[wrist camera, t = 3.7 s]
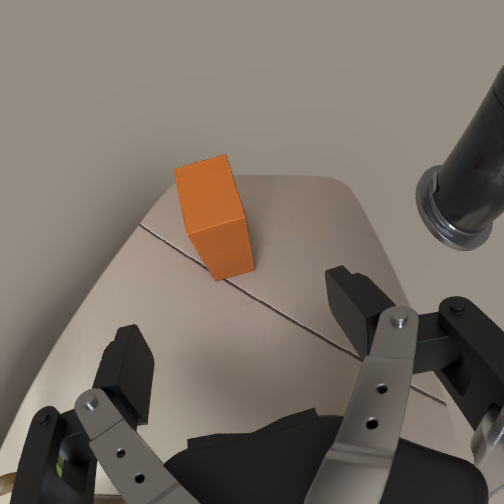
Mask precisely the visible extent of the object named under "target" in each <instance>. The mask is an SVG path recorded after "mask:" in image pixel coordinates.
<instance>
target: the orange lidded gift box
mask: <svg viewBox="0 0 504 504" xmlns="http://www.w3.org/2000/svg"><path fill="white" fill-rule="evenodd" d="M175 177H176V182H177V188H178V193H179V198H180V203H181V209H182V214H183V218H184V223H185V228H186V233H187V235H188V237H189V239H190V240H191V242H192V244H193V245H194V247H195V249H196V250H197V252H198V254H199V255H200V257H201V259H202V260H203V262H204V264H205V265H206V267H207V269H208V270H209V272H210V273H211V275H212V277H213V278H214V280H215V281H218V280H222V279H225V278H229V277H232V276H236V275H239V274H243V273H246V272H250V271H253V270H255V267H254V261H253V255H252V249H251V244H250V238H249V232H248V226H247V220H246V216H245V212H244V209H243V206H242V203H241V200H240V196H239V193H238V190H237V187H236V184H235V181H234V177H233V174H232V171H231V168H230V165H229V161H228V158H227V156H226V155H221V156H217V157H214V158H210V159H207V160H203V161H200V162H196V163H193V164H190V165H187V166H183V167H180V168H177V169H175Z"/></svg>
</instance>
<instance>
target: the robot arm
mask: <svg viewBox="0 0 504 504" xmlns="http://www.w3.org/2000/svg"><path fill="white" fill-rule="evenodd" d="M428 199H429V203H430V206H431V208H432V211H433V213H434V214H435V216H436V217H437V219H438V220H439V221H440V223H441V224H442V225H443V226H444V227H445V228H446V229H448V230H449V231H450V232H452V233H453V234H455V235H458V236H460V237H464V238H471V237H475V236H477V235H479V234H480V233H481V232H482V231H483V230H485V228H486V227H487V226H488V225H489V224H490V223H492V222H493V221H494V220H495V219H496V218H498V217H499V216H500V215H501V214H502V213H503V212H504V65H503V66H502V68H501V69H500V71H499V72H498V74H497V76H496V78H495V80H494V82H493V84H492V86H491V88H490V90H489V91H488V93H487V95H486V97H485V98H484V100H483V102H482V103H481V106H480V107H479V109H478V110H477V112H476V114H475V115H474V117H473V119H472V120H471V122H470V124H469V125H468V127H467V128H466V130H465V132H464V133H463V135H462V136H461V138H460V140H459V141H458V143H457V144H456V146H455V147H454V149H453V150H452V152H451V153H450V155H449V156H448V158H447V159H446V161H445V162H444V163H443V165H442V166H441V168H440V169H439V171H438V172H437V173H436V171H435V173H434V174H433V178H432V179H431V181H430V183H429V186H428ZM325 280H326V287H327V294H328V301H329V306H330V309H331V312H332V314H333V316H334V318H335V319H336V321H337V322H338V324H339V325H340V327H341V328H342V330H343V331H344V333H345V334H346V336H347V337H348V339H349V341H350V342H351V344H352V345H353V347H354V348H355V350H356V351H357V353H358V354H359V356H360V357H361V359H362V361H363V363H362V366H361V370H360V373H359V376H358V379H357V382H356V385H355V388H354V391H353V393H352V396H351V399H350V402H349V405H348V407H347V410H346V413H345V415H344V416H337V415H322V416H318V415H317V412H316V410H315V408H312V409H309V410H305V411H302V412H299V413H296V414H293V415H289V416H286V417H283V418H281V419H279V420H277V421H275V422H273V423H271V424H269V425H267V426H265V427H263V428H261V429H259V430H257V431H255V432H252V433H237V434H213V435H208V436H202V437H197V438H191V439H187V442H188V448H187V449H185V450H183V451H181V452H179V453H177V454H176V455H174V456H173V457H171V458H170V459H169V460H168V461H166V462H165V463H164V462H163V461H162V460H161V459H160V458H159V457H158V456H157V455H156V454H155V452H154V451H153V450H152V449H151V448H150V447H149V446H148V444H147V443H146V442H145V441H144V440H143V439H142V437H141V436H140V435H139V434H138V433H137V432H136V430H137V426H140V425H147V424H148V415H149V405H150V396H151V388H152V380H153V372H154V358H153V355H152V352H151V350H150V348H149V347H148V345H147V343H146V341H145V339H144V337H143V335H142V334H141V332H140V330H139V328H138V326H137V325H135V324H133V325H129V326H125V327H121V328H118V330H117V333H116V336H115V339H114V341H112V342H110V344H109V345H108V346H107V347H106V349H105V350H104V353H103V356H102V360H101V362H100V365H99V368H98V371H97V374H96V377H95V380H94V383H93V386H92V389H89V390H87V391H85V392H84V393H82V394H81V395H80V396H79V397H78V399H77V400H76V402H75V407H74V408H75V409H72V410H70V411H67V412H65V413H62V414H60V413H59V412H58V411H57V409H56V408H54V407H52V406H47V407H44V408H42V409H40V410H39V411H38V412H37V413H36V414H35V415H34V417H33V419H32V422H31V425H30V428H29V431H28V434H27V437H26V440H25V444H24V447H23V451H22V454H21V458H20V461H19V465H18V469H17V473H16V477H15V481H14V486H13V490H12V495H11V500H10V504H94V490H95V478H96V468H97V460H98V461H99V463H100V465H101V466H102V468H103V469H104V471H105V473H106V474H107V476H108V477H109V479H110V480H111V482H112V483H113V485H114V486H115V488H116V489H117V491H118V492H119V494H120V495H121V496H122V498H123V499H124V501H125V502H126V503H127V504H488V500H489V498H490V497H492V496H493V495H495V494H496V493H498V492H499V491H500V490H502V489H503V488H504V332H503V331H502V330H501V329H500V328H499V327H498V326H497V325H496V324H495V323H494V322H493V321H492V320H491V319H490V318H488V316H487V315H485V314H484V313H483V312H482V311H481V310H480V309H479V308H478V307H477V306H476V305H475V304H473V303H472V302H471V301H470V300H468V299H466V298H463V297H459V296H455V297H449V298H446V299H444V300H443V301H442V302H441V303H440V305H439V312H434V313H429V314H422V315H418V314H417V313H416V312H415V311H414V310H413V309H411V308H409V307H406V306H396V305H395V304H394V303H393V302H392V301H391V300H390V299H389V298H388V296H387V295H386V294H385V293H384V292H383V291H382V290H380V289H379V287H377V286H376V285H374V283H373V282H372V281H371V280H370V279H369V278H368V277H367V276H365V275H362V274H360V273H355V274H351V273H350V272H349V271H348V270H347V269H346V268H345V267H344V266H343V265H341V266H338V267H335V268H332V269H329V270H326V271H325ZM428 371H434V373H435V374H436V376H437V377H438V378H439V380H440V381H441V383H442V384H443V385H444V387H445V388H446V390H447V391H448V393H449V394H450V395H451V397H452V398H453V400H454V401H455V403H456V404H457V406H458V407H459V409H460V410H461V412H462V413H463V415H464V416H465V418H466V419H467V421H468V422H469V424H470V425H471V427H472V428H473V430H474V432H475V433H474V435H473V437H472V439H471V450H472V453H473V456H474V465H473V464H472V463H470V462H468V461H466V460H464V459H461V458H458V457H455V456H451V455H448V454H445V453H442V452H439V451H436V450H433V449H430V448H427V447H424V446H421V445H419V444H416V443H413V442H410V441H408V440H405V439H402V438H400V432H401V428H402V424H403V419H404V415H405V410H406V405H407V400H408V395H409V389H410V384H411V378H412V374H417V373H422V372H428ZM59 455H60V456H61V457H63V458H64V463H63V469H62V474H61V478H60V476H59V475H58V473H57V462H58V457H59Z"/></svg>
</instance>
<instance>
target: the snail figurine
mask: <svg viewBox="0 0 504 504" xmlns="http://www.w3.org/2000/svg"><path fill="white" fill-rule="evenodd" d="M18 465H19V464H18ZM16 473H17V472H13V473H9V474H6V475H3V476H0V496H2V495H5V494H7V493H9V492H12V490H13V486H14V481H15V477H16ZM57 473H58V475H59V476H60V478H61V474H62V470H61V468H60V466H59V465H58V463H57Z"/></svg>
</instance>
